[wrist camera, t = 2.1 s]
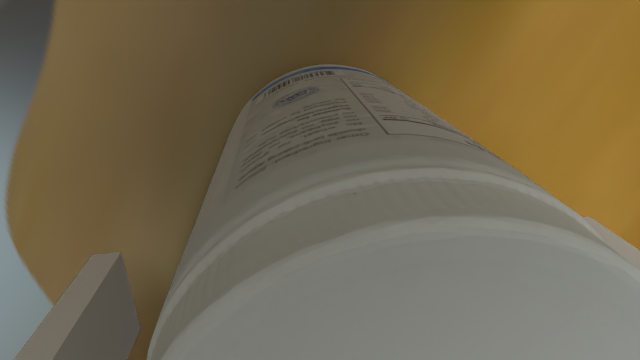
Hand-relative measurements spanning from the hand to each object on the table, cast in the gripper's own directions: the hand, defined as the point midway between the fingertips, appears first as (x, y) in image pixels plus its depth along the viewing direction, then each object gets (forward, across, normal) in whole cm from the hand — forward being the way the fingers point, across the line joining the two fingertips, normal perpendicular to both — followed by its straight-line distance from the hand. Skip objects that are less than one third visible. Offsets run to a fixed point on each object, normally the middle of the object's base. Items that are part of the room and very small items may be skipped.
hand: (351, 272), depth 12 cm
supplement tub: (+9, 0, 0) cm, 9 cm away
